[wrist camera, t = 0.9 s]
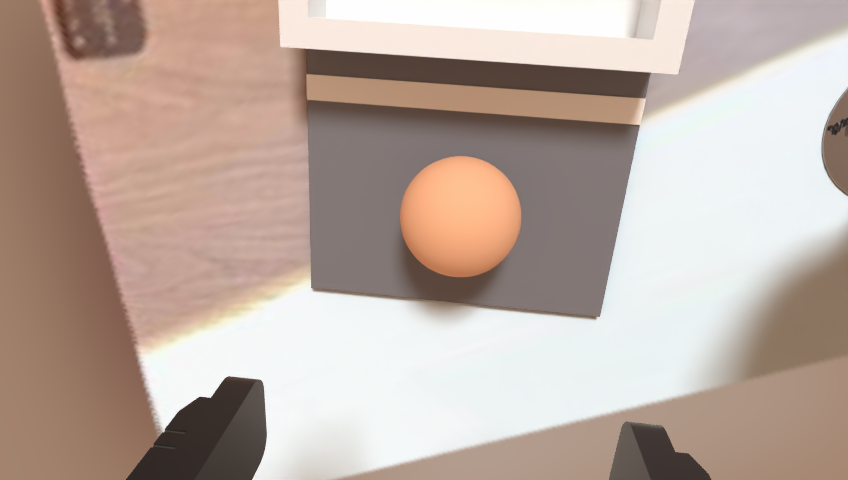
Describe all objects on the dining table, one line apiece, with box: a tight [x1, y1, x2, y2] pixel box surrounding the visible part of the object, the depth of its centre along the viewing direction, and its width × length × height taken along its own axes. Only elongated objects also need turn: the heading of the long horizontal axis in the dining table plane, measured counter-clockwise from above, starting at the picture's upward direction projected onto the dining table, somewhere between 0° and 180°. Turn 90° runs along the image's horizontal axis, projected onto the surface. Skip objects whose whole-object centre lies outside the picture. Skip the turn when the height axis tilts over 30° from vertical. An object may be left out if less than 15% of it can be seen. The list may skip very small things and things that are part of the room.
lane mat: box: [306, 49, 651, 317], centre depth 25 cm, size 16×30×1 cm, turn 177°
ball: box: [400, 156, 521, 277], centre depth 25 cm, size 6×6×6 cm
